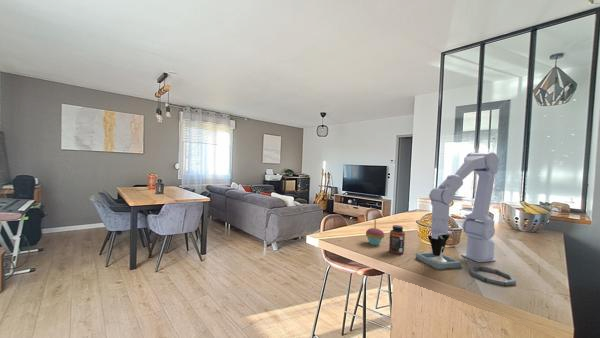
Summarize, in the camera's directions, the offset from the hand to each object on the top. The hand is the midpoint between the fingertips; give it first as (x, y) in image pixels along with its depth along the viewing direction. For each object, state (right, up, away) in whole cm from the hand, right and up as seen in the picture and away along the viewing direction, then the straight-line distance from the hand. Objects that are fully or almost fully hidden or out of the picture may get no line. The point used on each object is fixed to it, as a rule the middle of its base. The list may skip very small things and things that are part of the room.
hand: (438, 253), depth 96 cm
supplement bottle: (-12, -3, +10) cm, 16 cm away
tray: (0, -4, 0) cm, 4 cm away
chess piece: (0, -3, 0) cm, 3 cm away
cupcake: (-18, -3, +21) cm, 28 cm away
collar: (+12, -4, -11) cm, 17 cm away
